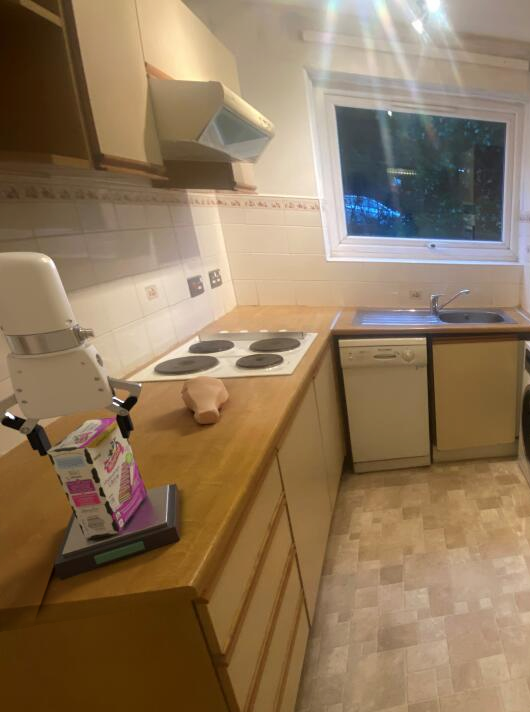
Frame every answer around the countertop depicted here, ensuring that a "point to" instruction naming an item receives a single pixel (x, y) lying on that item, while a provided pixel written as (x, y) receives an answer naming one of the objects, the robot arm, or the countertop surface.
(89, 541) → the scale pan
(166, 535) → the scale
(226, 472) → the countertop surface
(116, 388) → the robot arm
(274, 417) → the countertop surface
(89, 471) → the candy bar box
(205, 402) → the squash
